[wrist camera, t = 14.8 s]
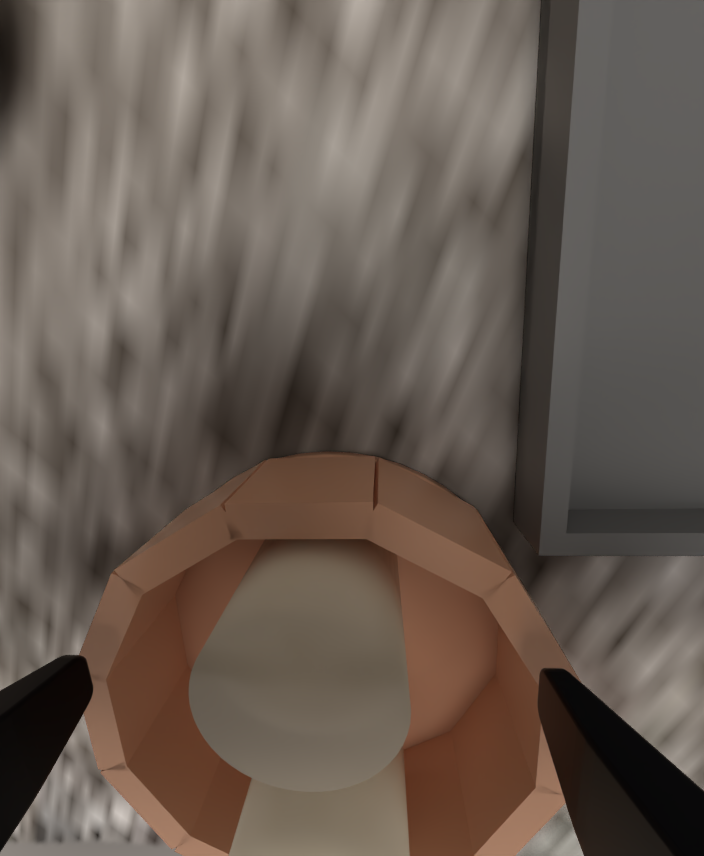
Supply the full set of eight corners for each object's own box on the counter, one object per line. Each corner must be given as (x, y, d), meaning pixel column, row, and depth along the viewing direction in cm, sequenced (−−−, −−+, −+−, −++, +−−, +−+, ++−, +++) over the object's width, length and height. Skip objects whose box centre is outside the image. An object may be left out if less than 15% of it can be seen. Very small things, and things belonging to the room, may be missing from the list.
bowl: (528, 446, 10) (604, 499, 7) (508, 764, 13) (557, 921, 9) (138, 455, 11) (29, 506, 8) (192, 748, 14) (128, 886, 10)
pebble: (395, 496, 10) (409, 612, 6) (399, 618, 11) (412, 796, 7) (257, 499, 11) (171, 610, 6) (271, 617, 11) (205, 787, 7)
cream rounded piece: (398, 645, 11) (408, 833, 7) (402, 746, 12) (416, 969, 8) (272, 645, 12) (208, 824, 7) (286, 743, 13) (236, 955, 8)
